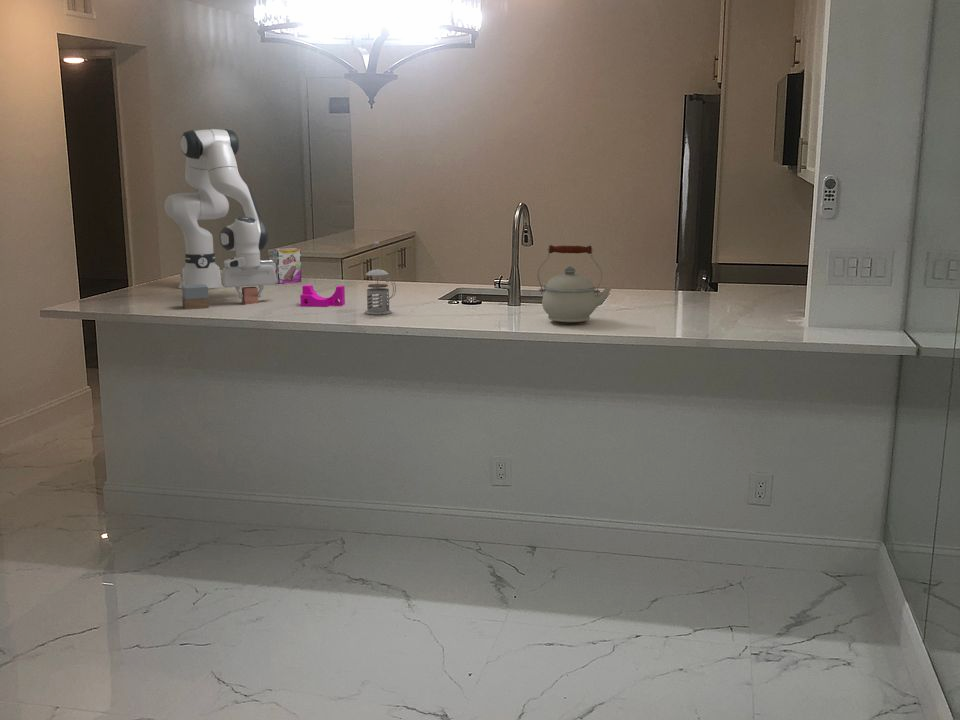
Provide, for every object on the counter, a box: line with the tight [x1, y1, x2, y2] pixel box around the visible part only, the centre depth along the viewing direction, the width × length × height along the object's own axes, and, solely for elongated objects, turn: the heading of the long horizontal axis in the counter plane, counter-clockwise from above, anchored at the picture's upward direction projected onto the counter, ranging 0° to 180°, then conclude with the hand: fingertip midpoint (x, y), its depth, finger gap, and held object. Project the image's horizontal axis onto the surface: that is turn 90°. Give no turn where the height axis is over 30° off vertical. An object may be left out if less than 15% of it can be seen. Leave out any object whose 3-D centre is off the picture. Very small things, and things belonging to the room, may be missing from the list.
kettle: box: [536, 244, 612, 323], centre depth 317 cm, size 25×18×25 cm
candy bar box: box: [272, 247, 302, 285], centre depth 401 cm, size 11×5×16 cm, turn 130°
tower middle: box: [181, 284, 210, 299], centre depth 344 cm, size 8×8×4 cm
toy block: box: [300, 284, 346, 308], centre depth 348 cm, size 15×6×8 cm, turn 81°
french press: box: [364, 241, 397, 315], centre depth 331 cm, size 10×12×25 cm
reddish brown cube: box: [241, 286, 259, 306], centre depth 354 cm, size 5×5×6 cm
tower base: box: [181, 296, 210, 310], centre depth 345 cm, size 8×8×4 cm
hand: (250, 297), depth 354 cm, fingers closed on reddish brown cube, 5 cm apart
